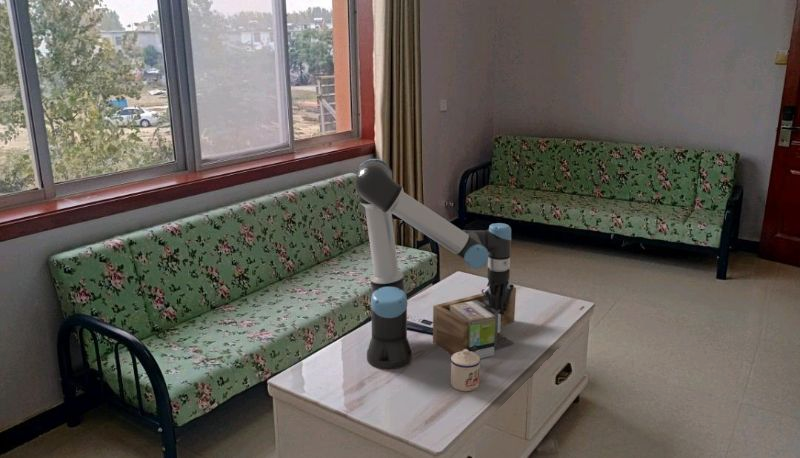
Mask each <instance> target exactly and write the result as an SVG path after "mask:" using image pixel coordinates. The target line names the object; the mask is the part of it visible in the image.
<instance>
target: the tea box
mask: <svg viewBox="0 0 800 458" xmlns="http://www.w3.org/2000/svg"><path fill="white" fill-rule="evenodd" d="M450 312H452V313H454V314H455V315H457V316H459V317H460V318H462V319H464V320H466V321H467V322H468V341H467V350H469V352H473V353H475V354H477V355H478V356H479V357H480V359H483V358H484V359H485V358H489V357H493V356H494V355H495V350H494V340H495V315H493V314H492V313H490V312H489V311H488V310H486V309H485V308H483V307H482V306H480V305H479V304H477V303H476V302H475V301H470V302H465V303H459V304H453V305H450Z"/></svg>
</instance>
